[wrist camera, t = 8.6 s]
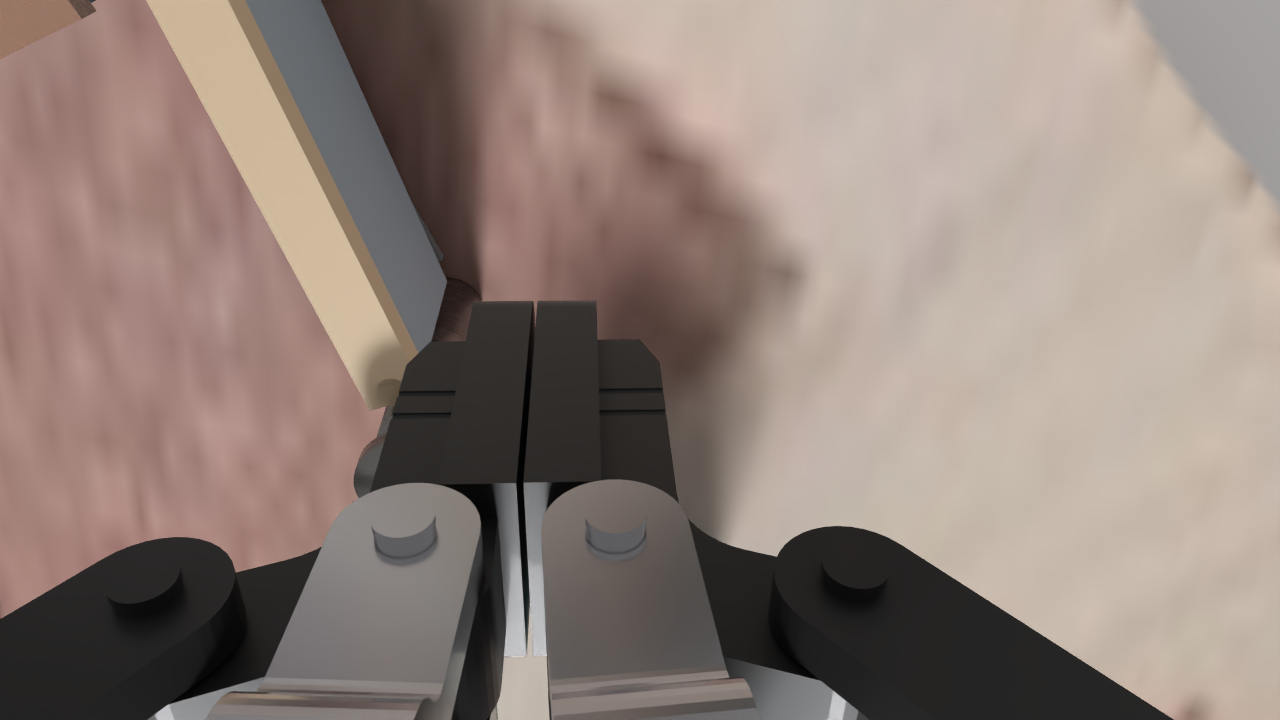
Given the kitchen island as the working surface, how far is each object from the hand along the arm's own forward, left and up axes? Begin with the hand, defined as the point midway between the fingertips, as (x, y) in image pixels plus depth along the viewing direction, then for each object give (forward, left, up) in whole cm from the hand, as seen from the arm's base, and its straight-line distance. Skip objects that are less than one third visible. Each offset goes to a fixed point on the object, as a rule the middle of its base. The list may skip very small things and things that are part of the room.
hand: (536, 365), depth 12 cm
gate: (-8, 0, -21) cm, 23 cm away
